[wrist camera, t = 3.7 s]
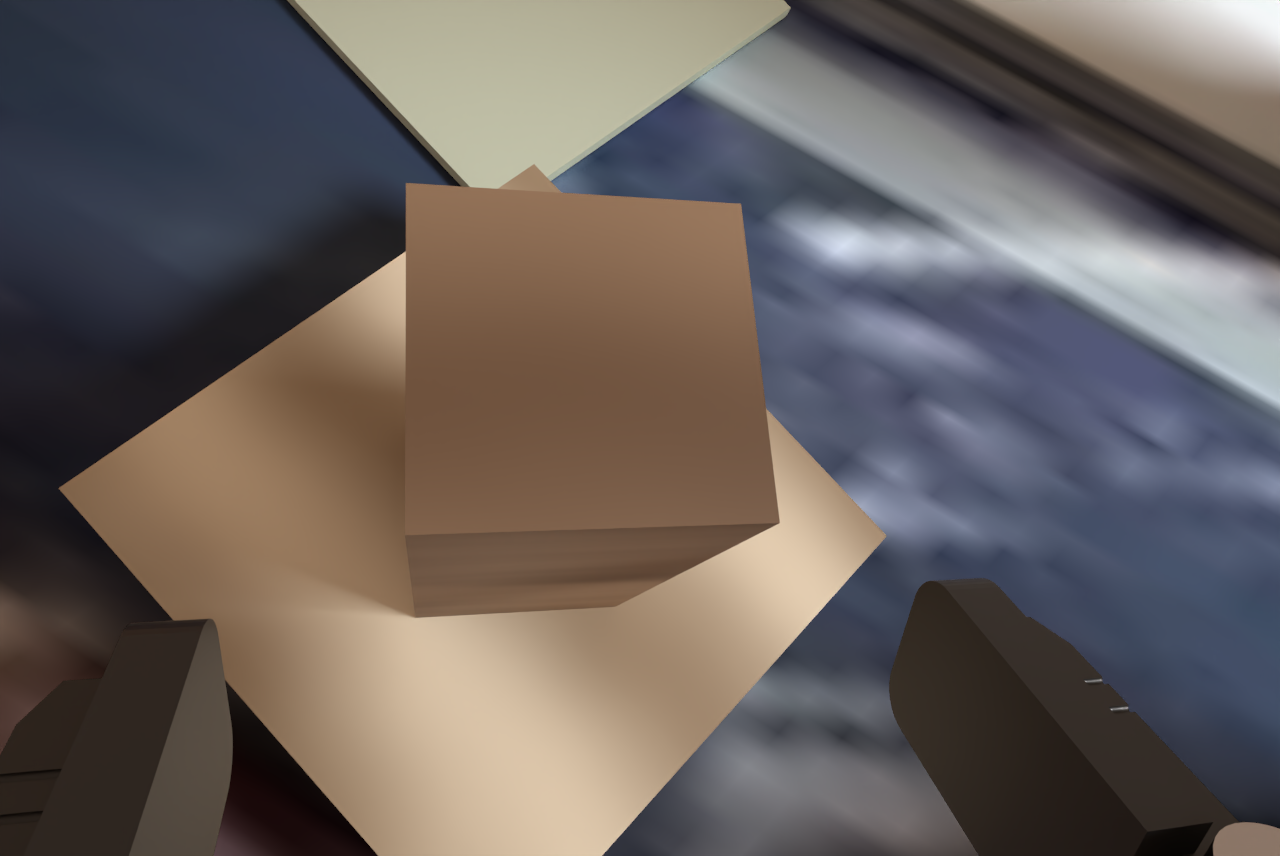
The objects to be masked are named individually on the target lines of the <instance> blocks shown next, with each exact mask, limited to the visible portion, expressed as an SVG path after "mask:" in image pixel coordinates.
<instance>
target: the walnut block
mask: <svg viewBox="0 0 1280 856" xmlns="http://www.w3.org/2000/svg"><path fill="white" fill-rule="evenodd" d="M779 523H780V519H779V511H778V503H777V495H776V487H775V479H774V470H773V462H772V454H771V446H770V438H769V429H768V421H767V413H766V405H765V397H764V389H763V380H762V372H761V364H760V356H759V348H758V340H757V331H756V323H755V315H754V307H753V299H752V291H751V282H750V274H749V266H748V258H747V250H746V241H745V233H744V225H743V217H742V209H741V204H734V203H718V202H702V201H686V200H670V199H654V198H637V197H621V196H605V195H589V194H573V193H557V192H541V191H525V190H508V189H492V188H476V187H460V186H444V185H428V184H412V183H406V368H405V539H406V547H407V555H408V563H409V571H410V579H411V587H412V595H413V603H414V611H415V618H422V617H441V616H459V615H477V614H495V613H513V612H532V611H550V610H568V609H586V608H604V607H616V606H618V605H620V604H622V603H624V602H626V601H628V600H630V599H632V598H634V597H636V596H638V595H639V594H641V593H643V592H645V591H647V590H649V589H651V588H653V587H655V586H657V585H659V584H661V583H663V582H665V581H667V580H669V579H671V578H673V577H675V576H677V575H679V574H681V573H683V572H685V571H687V570H689V569H691V568H693V567H695V566H696V565H698V564H700V563H702V562H704V561H706V560H708V559H710V558H712V557H714V556H716V555H718V554H720V553H722V552H724V551H726V550H728V549H730V548H732V547H734V546H736V545H738V544H740V543H742V542H744V541H746V540H748V539H750V538H752V537H754V536H755V535H757V534H759V533H761V532H763V531H765V530H767V529H769V528H771V527H773V526H775V525H777V524H779Z"/></svg>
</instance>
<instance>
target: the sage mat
mask: <svg viewBox="0 0 1280 856" xmlns="http://www.w3.org/2000/svg"><path fill="white" fill-rule="evenodd" d="M287 1H288V2H289V3H290V4H291V5H292V6H293V7H294V9H295V10H296V11H297V12H298V13H299V14H300V15H301V16H302V17H303V18H304V19H305V20H306V21H307V22H308V23H309V24H310V26H311V27H312V28H313V29H314V30H315V31H316V32H317V33H318V34H319V35H320V36H321V37H322V38H323V39H324V40H325V42H326V43H327V44H328V45H329V46H330V47H331V48H332V49H333V50H334V51H335V52H336V53H337V54H338V55H339V56H340V58H341V59H342V60H343V61H344V62H345V63H346V64H347V65H348V66H349V67H350V68H351V69H352V70H353V71H354V72H355V74H356V75H357V76H358V77H359V78H360V79H361V80H362V81H363V82H364V83H365V84H366V85H367V86H368V87H369V88H370V89H371V91H372V92H373V93H374V94H375V95H376V96H377V97H378V98H379V99H380V100H381V101H382V102H383V103H384V104H385V105H386V107H387V108H388V109H389V110H390V111H391V112H392V113H393V114H394V115H395V116H396V117H397V118H398V119H399V120H400V121H401V123H402V124H403V125H404V126H405V127H406V128H407V129H408V130H409V131H410V132H411V133H412V134H413V135H414V136H415V137H416V139H417V140H418V141H419V142H420V143H421V144H422V145H423V146H424V147H425V148H426V149H427V150H428V151H429V152H430V153H431V155H432V156H433V157H434V158H435V159H436V160H437V161H438V162H439V163H440V164H441V165H442V166H443V167H444V168H445V169H446V170H447V172H448V173H449V174H450V175H451V176H452V177H453V178H454V179H455V180H456V181H457V182H458V183H459V184H460V185H461V186H462V187H476V188H492V189H498V188H500V187H501V186H502V185H504V184H505V183H507V182H508V181H510V180H511V179H513V178H514V177H516V176H517V175H519V174H520V173H522V172H523V171H524V170H526V169H527V168H529V167H530V166H532V165H533V164H535V165H536V166H537V168H538V169H539V170H540V171H541V172H542V173H543V174H544V175H545V176H546V177H547V178H548V179H549V180H550V181H551V180H553V179H554V178H556V177H557V176H559V175H560V174H561V173H563V172H564V171H566V170H567V169H569V168H570V167H571V166H573V165H574V164H576V163H577V162H579V161H580V160H581V159H583V158H584V157H586V156H587V155H589V154H590V153H591V152H593V151H594V150H596V149H597V148H599V147H600V146H601V145H603V144H604V143H606V142H607V141H609V140H610V139H612V138H613V137H614V136H616V135H617V134H619V133H620V132H622V131H623V130H624V129H626V128H627V127H629V126H630V125H632V124H633V123H634V122H636V121H637V120H639V119H640V118H642V117H643V116H644V115H646V114H647V113H649V112H650V111H652V110H653V109H654V108H656V107H657V106H659V105H660V104H662V103H663V102H664V101H666V100H667V99H669V98H670V97H672V96H673V95H675V94H676V93H677V92H679V91H680V90H682V89H683V88H685V87H686V86H687V85H689V84H690V83H692V82H693V81H695V80H696V79H697V78H699V77H700V76H702V75H703V74H705V73H706V72H707V71H709V70H710V69H712V68H713V67H715V66H716V65H717V64H719V63H720V62H722V61H723V60H725V59H726V58H727V57H729V56H730V55H732V54H733V53H735V52H736V51H737V50H739V49H740V48H742V47H743V46H745V45H746V44H748V43H749V42H750V41H752V40H753V39H755V38H756V37H758V36H759V35H760V34H762V33H763V32H765V31H766V30H768V29H769V28H770V27H772V26H773V25H775V24H776V23H778V22H779V21H780V20H782V19H783V18H785V17H786V16H787V14H788V12H789V10H790V8H791V7H790V6H789V5H788V4H787V3H786V2H785V1H784V0H287Z"/></svg>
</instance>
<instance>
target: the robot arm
mask: <svg viewBox="0 0 1280 856" xmlns="http://www.w3.org/2000/svg"><path fill="white" fill-rule="evenodd" d="M889 692H890V701H891V706H892V710H893V713H894V716H895V719H896V721H897V723H898V725H899V727H900V729H901V731H902V732H903V734H904V735H905V737H906V739H907V740H908V742H909V743H910V745H911V747H912V748H913V750H914V752H915V753H916V755H917V756H918V758H919V760H920V761H921V763H922V764H923V766H924V768H925V769H926V771H927V773H928V774H929V776H930V777H931V779H932V781H933V782H934V784H935V785H936V787H937V789H938V790H939V792H940V793H941V795H942V797H943V798H944V800H945V802H946V803H947V805H948V806H949V808H950V810H951V811H952V813H953V814H954V816H955V818H956V819H957V821H958V823H959V824H960V826H961V827H962V829H963V831H964V832H965V834H966V835H967V837H968V839H969V840H970V842H971V844H972V845H973V847H974V848H975V850H976V852H977V853H978V855H979V856H1280V829H1279V828H1276V827H1272V826H1269V825H1264V824H1259V823H1250V822H1242V823H1240V822H1239V821H1238V820H1237V819H1236V818H1235V817H1234V816H1233V815H1232V814H1231V813H1230V812H1229V811H1228V810H1227V809H1226V808H1225V807H1224V806H1223V805H1222V804H1221V803H1220V802H1219V800H1218V799H1217V798H1216V797H1215V796H1214V795H1213V794H1212V793H1211V792H1210V791H1209V790H1208V789H1207V788H1206V787H1205V786H1204V785H1203V784H1202V782H1201V781H1200V780H1199V779H1198V778H1197V777H1196V776H1195V775H1194V774H1193V773H1192V772H1191V771H1190V770H1189V769H1188V768H1187V767H1186V765H1185V764H1184V763H1183V762H1182V761H1181V760H1180V759H1179V758H1178V757H1177V756H1176V755H1175V754H1174V753H1173V752H1172V751H1171V750H1170V749H1169V747H1168V746H1167V745H1166V744H1165V743H1164V742H1163V741H1162V740H1161V739H1160V738H1159V737H1158V736H1157V735H1156V734H1155V733H1154V732H1153V730H1152V729H1151V728H1150V727H1149V726H1148V725H1147V724H1146V723H1145V722H1144V721H1143V720H1142V719H1141V718H1140V717H1139V716H1138V715H1137V714H1136V712H1130V711H1129V710H1128V704H1127V703H1126V702H1125V701H1124V700H1123V699H1122V698H1121V697H1120V696H1119V694H1118V693H1117V692H1116V691H1115V690H1114V689H1113V688H1112V687H1111V686H1110V685H1109V684H1103V682H1102V676H1101V675H1100V674H1099V673H1098V672H1097V671H1096V670H1095V669H1094V668H1093V667H1092V666H1091V665H1090V664H1089V663H1088V662H1087V661H1086V659H1085V658H1084V657H1083V656H1082V655H1081V654H1080V653H1079V652H1078V651H1077V650H1076V649H1075V648H1074V647H1073V646H1072V645H1071V644H1070V643H1068V642H1067V641H1065V640H1064V639H1062V638H1061V637H1059V636H1058V635H1056V634H1055V633H1053V632H1052V631H1050V630H1049V629H1047V628H1046V627H1044V626H1043V625H1041V624H1040V623H1038V622H1037V621H1035V620H1034V619H1032V618H1031V617H1026V616H1025V615H1024V614H1023V613H1022V612H1021V611H1020V610H1019V609H1018V608H1017V606H1016V605H1015V604H1014V603H1013V602H1012V601H1011V600H1010V599H1009V598H1008V597H1007V596H1006V594H1005V593H1004V592H1003V591H1002V590H1001V589H1000V588H999V587H998V586H997V585H996V584H995V583H994V582H992V581H990V580H988V579H985V578H974V579H956V580H938V581H928V582H926V583H924V584H923V585H922V586H921V587H920V588H919V589H918V591H917V593H916V596H915V599H914V602H913V605H912V608H911V611H910V614H909V618H908V621H907V624H906V627H905V630H904V633H903V637H902V640H901V643H900V646H899V649H898V652H897V655H896V659H895V662H894V665H893V668H892V671H891V675H890V683H889ZM232 755H233V735H232V724H231V717H230V710H229V703H228V697H227V690H226V683H225V676H224V670H223V663H222V656H221V649H220V643H219V636H218V631H217V627H216V624H215V622H214V621H213V619H193V620H175V621H156V622H138V623H130V624H129V625H127V626H126V628H125V629H124V630H123V632H122V634H121V636H120V638H119V641H118V643H117V645H116V647H115V650H114V652H113V654H112V657H111V659H110V661H109V663H108V666H107V668H106V670H105V672H104V675H103V677H102V678H99V679H84V680H70V681H63V682H62V683H61V684H60V685H59V686H57V687H56V688H55V689H54V690H53V691H52V692H51V693H50V694H49V695H48V696H47V697H46V698H45V699H43V700H42V701H41V702H40V703H39V704H38V705H37V706H36V707H35V708H34V709H33V710H32V711H31V712H29V713H28V714H27V715H26V716H25V717H24V718H23V719H22V720H21V721H20V722H19V723H18V724H17V725H16V726H15V728H14V730H13V732H12V734H11V736H10V738H9V740H8V742H7V743H6V745H5V747H4V749H3V751H2V753H1V755H0V856H213V855H214V851H215V847H216V842H217V838H218V834H219V829H220V825H221V821H222V816H223V812H224V808H225V803H226V799H227V795H228V790H229V784H230V778H231V769H232Z"/></svg>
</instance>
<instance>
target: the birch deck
mask: <svg viewBox="0 0 1280 856" xmlns="http://www.w3.org/2000/svg"><path fill="white" fill-rule="evenodd" d="M498 189H508V190H525V191H541V192H557V193H561V192H560V191H559V190H558V189H557V188H556V187H555V185H554V184H553V183H552V182H551V181H550V180H549V179H548V178H547V177H546V176H545V175H544V174H543V173H542V172H541V171H540V170H539V169H538V168H537V166H536V165H535V164H533V165H532V166H530V167H529V168H527V169H526V170H524V171H523V172H522V173H520V174H519V175H517V176H516V177H514V178H513V179H511V180H510V181H508V182H507V183H505V184H504V185H502V186H501V187H500V188H498ZM405 368H406V252H404V253H403V254H401V255H400V256H398V257H397V258H395V259H394V260H392V261H391V262H390V263H388V264H387V265H385V266H384V267H382V268H381V269H379V270H378V271H376V272H375V273H373V274H372V275H370V276H369V277H368V278H366V279H365V280H363V281H362V282H360V283H359V284H357V285H356V286H354V287H353V288H351V289H350V290H348V291H347V292H346V293H344V294H343V295H341V296H340V297H338V298H337V299H335V300H334V301H332V302H331V303H329V304H328V305H326V306H325V307H324V308H322V309H321V310H319V311H318V312H316V313H315V314H313V315H312V316H310V317H309V318H307V319H306V320H305V321H303V322H302V323H300V324H299V325H297V326H296V327H294V328H293V329H291V330H290V331H288V332H287V333H285V334H284V335H283V336H281V337H280V338H278V339H277V340H275V341H274V342H272V343H271V344H269V345H268V346H266V347H265V348H263V349H262V350H261V351H259V352H258V353H256V354H255V355H253V356H252V357H250V358H249V359H247V360H246V361H244V362H243V363H241V364H240V365H239V366H237V367H236V368H234V369H233V370H231V371H230V372H228V373H227V374H225V375H224V376H222V377H221V378H219V379H218V380H217V381H215V382H214V383H212V384H211V385H209V386H208V387H206V388H205V389H203V390H202V391H200V392H199V393H197V394H196V395H195V396H193V397H192V398H190V399H189V400H187V401H186V402H184V403H183V404H181V405H180V406H178V407H177V408H175V409H174V410H173V411H171V412H170V413H168V414H167V415H165V416H164V417H162V418H161V419H159V420H158V421H156V422H155V423H153V424H152V425H151V426H149V427H148V428H146V429H145V430H143V431H142V432H140V433H139V434H137V435H136V436H134V437H133V438H131V439H130V440H129V441H127V442H126V443H124V444H123V445H121V446H120V447H118V448H117V449H115V450H114V451H112V452H111V453H110V454H108V455H107V456H105V457H104V458H102V459H101V460H99V461H98V462H96V463H95V464H93V465H92V466H90V467H89V468H88V469H86V470H85V471H83V472H82V473H80V474H79V475H77V476H76V477H74V478H73V479H71V480H70V481H68V482H67V483H66V484H64V485H63V486H61V487H60V488H59V489H60V490H61V492H62V493H63V494H64V495H65V496H66V497H67V498H68V500H69V501H70V502H71V503H72V504H73V505H74V507H75V508H76V509H77V510H78V511H79V512H80V513H81V515H82V516H83V517H84V518H85V519H86V520H87V521H88V523H89V524H90V525H91V526H92V527H93V528H94V530H95V531H96V532H97V533H98V534H99V535H100V536H101V538H102V539H103V540H104V541H105V542H106V543H107V544H108V546H109V547H110V548H111V549H112V550H113V551H114V553H115V554H116V555H117V556H118V557H119V558H120V559H121V561H122V562H123V563H124V564H125V565H126V566H127V567H128V569H129V570H130V571H131V572H132V573H133V574H134V576H135V577H136V578H137V579H138V580H139V581H140V582H141V584H142V585H143V586H144V587H145V588H146V589H147V590H148V592H149V593H150V594H151V595H152V596H153V597H154V599H155V600H156V601H157V602H158V603H159V604H160V605H161V607H162V608H163V609H164V610H165V611H166V612H167V613H168V615H169V616H170V617H171V618H172V619H173V620H174V621H175V620H193V619H213V621H214V622H215V624H216V627H217V631H218V636H219V643H220V649H221V656H222V663H223V670H224V676H225V680H226V681H227V682H228V684H229V685H230V686H231V687H232V688H233V689H234V690H235V692H236V693H237V694H238V695H239V696H240V697H241V699H242V700H243V701H244V702H245V703H246V704H247V705H248V707H249V708H250V709H251V710H252V711H253V712H254V713H255V715H256V716H257V717H258V718H259V719H260V720H261V722H262V723H263V724H264V725H265V726H266V727H267V728H268V730H269V731H270V732H271V733H272V734H273V735H274V736H275V738H276V739H277V740H278V741H279V742H280V743H281V745H282V746H283V747H284V748H285V749H286V750H287V751H288V753H289V754H290V755H291V756H292V757H293V758H294V759H295V761H296V762H297V763H298V764H299V765H300V766H301V768H302V769H303V770H304V771H305V772H306V773H307V774H308V776H309V777H310V778H311V779H312V780H313V781H314V782H315V784H316V785H317V786H318V787H319V788H320V789H321V790H322V792H323V793H324V794H325V795H326V796H327V797H328V799H329V800H330V801H331V802H332V803H333V804H334V805H335V807H336V808H337V809H338V810H339V811H340V812H341V813H342V815H343V816H344V817H345V818H346V819H347V820H348V822H349V823H350V824H351V825H352V826H353V827H354V828H355V830H356V831H357V832H358V833H359V834H360V835H361V836H362V838H363V839H364V840H365V841H366V842H367V843H368V845H369V846H370V847H371V848H372V849H373V850H374V851H375V853H376V854H377V855H378V856H602V855H603V854H604V853H605V852H606V851H607V849H608V848H609V847H610V846H611V845H612V844H613V843H614V842H615V841H616V839H617V838H618V837H619V836H620V835H621V834H622V833H623V832H624V830H625V829H626V828H627V827H628V826H629V825H630V824H631V823H632V821H633V820H634V819H635V818H636V817H637V816H638V815H639V814H640V812H641V811H642V810H643V809H644V808H645V807H646V806H647V805H648V803H649V802H650V801H651V800H652V799H653V798H654V797H655V796H656V794H657V793H658V792H659V791H660V790H661V789H662V788H663V787H664V785H665V784H666V783H667V782H668V781H669V780H670V779H671V778H672V777H673V775H674V774H675V773H676V772H677V771H678V770H679V769H680V768H681V766H682V765H683V764H684V763H685V762H686V761H687V760H688V759H689V757H690V756H691V755H692V754H693V753H694V752H695V751H696V750H697V748H698V747H699V746H700V745H701V744H702V743H703V742H704V741H705V739H706V738H707V737H708V736H709V735H710V734H711V733H712V732H713V730H714V729H715V728H716V727H717V726H718V725H719V724H720V723H721V722H722V720H723V719H724V718H725V717H726V716H727V715H728V714H729V713H730V711H731V710H732V709H733V708H734V707H735V706H736V705H737V704H738V702H739V701H740V700H741V699H742V698H743V697H744V696H745V695H746V693H747V692H748V691H749V690H750V689H751V688H752V687H753V686H754V684H755V683H756V682H757V681H758V680H759V679H760V678H761V677H762V675H763V674H764V673H765V672H766V671H767V670H768V669H769V668H770V666H771V665H772V664H773V663H774V662H775V661H776V660H777V659H778V658H779V656H780V655H781V654H782V653H783V652H784V651H785V650H786V649H787V647H788V646H789V645H790V644H791V643H792V642H793V641H794V640H795V638H796V637H797V636H798V635H799V634H800V633H801V632H802V631H803V629H804V628H805V627H806V626H807V625H808V624H809V623H810V622H811V620H812V619H813V618H814V617H815V616H816V615H817V614H818V613H819V611H820V610H821V609H822V608H823V607H824V606H825V605H826V604H827V602H828V601H829V600H830V599H831V598H832V597H833V596H834V595H835V594H836V592H837V591H838V590H839V589H840V588H841V587H842V586H843V585H844V583H845V582H846V581H847V580H848V579H849V578H850V577H851V576H852V574H853V573H854V572H855V571H856V570H857V569H858V568H859V567H860V565H861V564H862V563H863V562H864V561H865V560H866V559H867V558H868V556H869V555H870V554H871V553H872V552H873V551H874V550H875V549H876V547H877V546H878V545H879V544H880V543H881V542H882V541H883V540H884V538H885V537H886V535H885V534H884V533H883V531H882V530H881V529H880V528H879V527H878V526H877V525H876V524H875V523H874V522H873V521H872V520H871V519H870V518H869V517H868V516H867V515H866V514H865V512H864V511H863V510H862V509H861V508H860V507H859V506H858V505H857V504H856V503H855V502H854V501H853V500H852V499H851V498H850V497H849V496H848V495H847V493H846V492H845V491H844V490H843V489H842V488H841V487H840V486H839V485H838V484H837V483H836V482H835V481H834V480H833V479H832V478H831V477H830V476H829V475H828V473H827V472H826V471H825V470H824V469H823V468H822V467H821V466H820V465H819V464H818V463H817V462H816V461H815V460H814V459H813V458H812V457H811V456H810V454H809V453H808V452H807V451H806V450H805V449H804V448H803V447H802V446H801V445H800V444H799V443H798V442H797V441H796V440H795V439H794V438H793V437H792V435H791V434H790V433H789V432H788V431H787V430H786V429H785V428H784V427H783V426H782V425H781V424H780V423H779V422H778V421H777V420H776V419H775V418H774V416H773V415H772V414H771V413H770V412H769V411H768V410H767V409H766V413H767V421H768V429H769V438H770V446H771V454H772V462H773V470H774V479H775V487H776V495H777V503H778V511H779V519H780V523H779V524H777V525H775V526H773V527H771V528H769V529H767V530H765V531H763V532H761V533H759V534H757V535H755V536H754V537H752V538H750V539H748V540H746V541H744V542H742V543H740V544H738V545H736V546H734V547H732V548H730V549H728V550H726V551H724V552H722V553H720V554H718V555H716V556H714V557H712V558H710V559H708V560H706V561H704V562H702V563H700V564H698V565H696V566H695V567H693V568H691V569H689V570H687V571H685V572H683V573H681V574H679V575H677V576H675V577H673V578H671V579H669V580H667V581H665V582H663V583H661V584H659V585H657V586H655V587H653V588H651V589H649V590H647V591H645V592H643V593H641V594H639V595H638V596H636V597H634V598H632V599H630V600H628V601H626V602H624V603H622V604H620V605H618V606H616V607H604V608H586V609H568V610H550V611H532V612H513V613H495V614H477V615H459V616H441V617H422V618H415V611H414V603H413V595H412V587H411V579H410V571H409V563H408V555H407V547H406V539H405Z"/></svg>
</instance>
